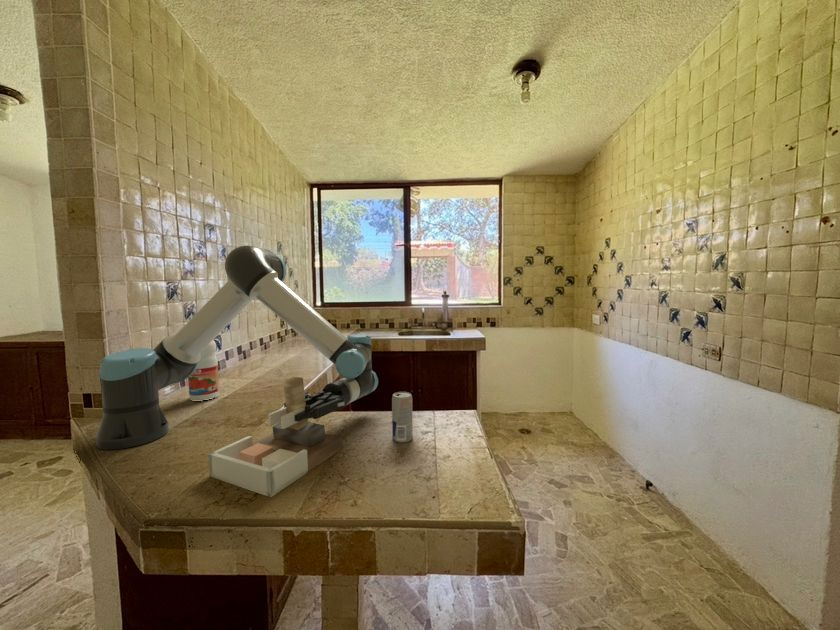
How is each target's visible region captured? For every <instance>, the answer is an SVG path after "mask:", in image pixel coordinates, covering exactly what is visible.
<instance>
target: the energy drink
mask: <svg viewBox="0 0 840 630" xmlns="http://www.w3.org/2000/svg"><path fill="white" fill-rule="evenodd" d="M391 413H392V414H391V419H392V421H391V425H392V426H391V427H392V429H391V430H392V431H391V432H392V433H391V434H392V440H393V441H394V442H396V443H403V444H404V443H408V442H410V441H411V440H412V439H413V437H414V436H413V433H414V432H413V395H412V393H411V392H409V391H397V392H394V393H393V394H392V397H391Z"/></svg>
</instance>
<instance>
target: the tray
mask: <svg viewBox="0 0 840 630" xmlns="http://www.w3.org/2000/svg"><path fill="white" fill-rule="evenodd" d="M252 443H253V436H251V435H248V436H245V437H243V438H241V439H239V440H237V441H234V442H232V443H230V444H227V445H226V446H223V447H221V448H219V449H217V450H214V451H213V452H210V453H208V469H209V470H208V471H209V477H210V478H213V479H214V480H215V479H216V480H218V481H221V482H224V483H227V484H231V485H234V486H236V487H238V488H242V489H244V490H248V491H251V492H254V493H257V494H261V495H263V496H266V497H269V498H272V497H273V496H276V495H277V494H278V493H280V492H281V491H282V490H284V489H285V488H287V487H289V486H290V485H291V484H293V483H294V482H296V481H297V480H299V479H300V478H302V477H303V476H304V475H306V474H308V473H309V472H308V459H307V450H305V449H303V450H302V451H300V452H298V453H296V454H295V455H293V456H291V457H290V458H288V459H286V460H284V461H283V462H281V463H279V464H278V465H276V466H274V467H272V468H271V469H269V468H266V467H263V466H259V465H256V464H252V463H249V462H245V461H242V460H239V452H240V451H242V450H244V449H247V448H249V447H251V446H252Z"/></svg>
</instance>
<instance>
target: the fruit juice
mask: <svg viewBox="0 0 840 630" xmlns="http://www.w3.org/2000/svg"><path fill="white" fill-rule="evenodd" d="M216 351H217V343H216V341H215V340H214V339H213V340H212V341H211V342H210V343H209V344H208V345H207V346H206V347H205V348H204V349H203V351H202V352H201V359H200V361H199V362H198V363H197V367H196V370H195V371H194V372H193V374H192V375H191V376H189V377H188V378H187V379H188V381H187V382H188V397H189V401H191V400H204V399H210V398H213V397H216V396H218V395H219V396H220V385H219V384H220V383H219V382H220V381H219V363H218V357H217V355H216ZM219 396H218V397H219Z"/></svg>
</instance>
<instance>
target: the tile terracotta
mask: <svg viewBox="0 0 840 630" xmlns="http://www.w3.org/2000/svg"><path fill="white" fill-rule="evenodd" d="M273 452H274V450H273V447H271V446H268V445H264V444H260V443H257V444H255V445H253V446H251V447H249V448H247V449H244V450H242V451H240V452H239V460H242V461H245V462H249V463H252V464H256V465H259V466H262V458H264V457H266V456H267V455H269V454H271V453H273Z"/></svg>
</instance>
